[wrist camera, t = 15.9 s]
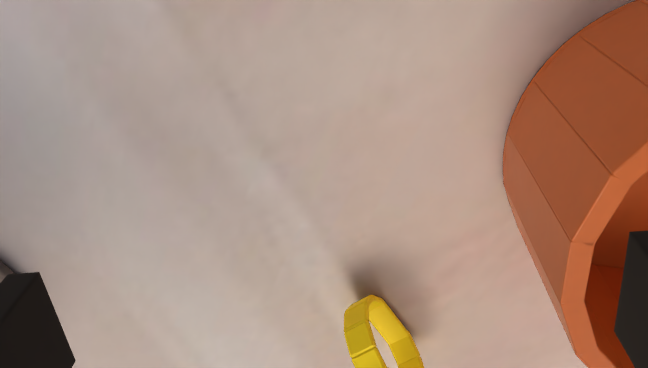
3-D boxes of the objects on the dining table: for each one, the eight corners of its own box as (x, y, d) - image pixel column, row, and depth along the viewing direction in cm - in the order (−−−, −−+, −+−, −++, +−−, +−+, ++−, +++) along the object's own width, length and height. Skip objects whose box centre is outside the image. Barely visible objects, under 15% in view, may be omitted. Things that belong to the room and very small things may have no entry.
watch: (433, 341, 34) (448, 428, 29) (392, 361, 35) (399, 448, 29) (375, 270, 32) (379, 350, 26) (333, 293, 32) (329, 375, 27)
